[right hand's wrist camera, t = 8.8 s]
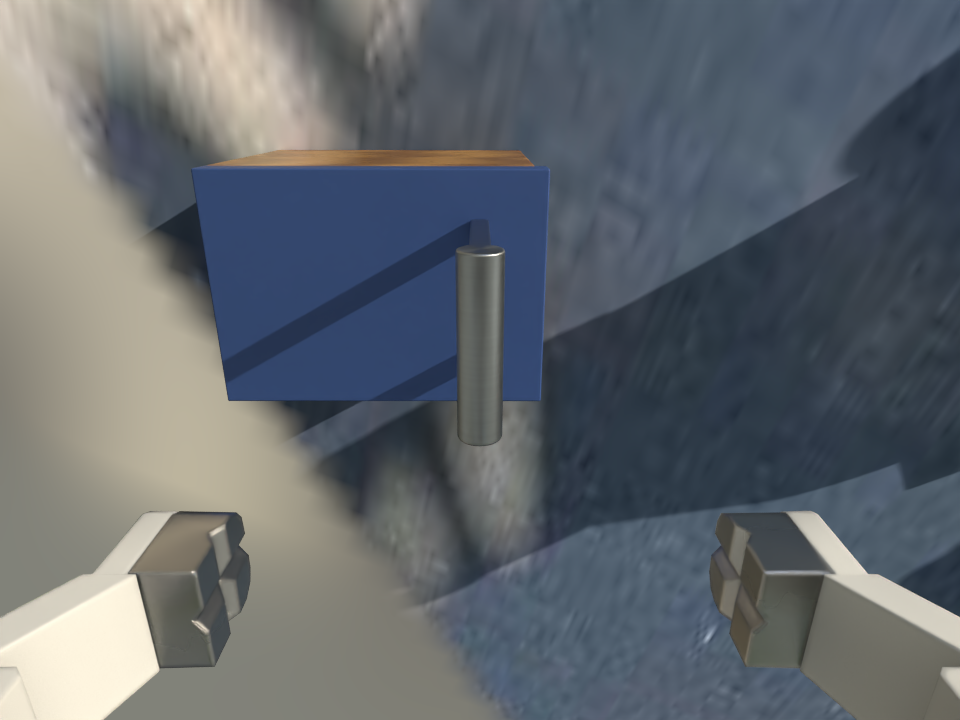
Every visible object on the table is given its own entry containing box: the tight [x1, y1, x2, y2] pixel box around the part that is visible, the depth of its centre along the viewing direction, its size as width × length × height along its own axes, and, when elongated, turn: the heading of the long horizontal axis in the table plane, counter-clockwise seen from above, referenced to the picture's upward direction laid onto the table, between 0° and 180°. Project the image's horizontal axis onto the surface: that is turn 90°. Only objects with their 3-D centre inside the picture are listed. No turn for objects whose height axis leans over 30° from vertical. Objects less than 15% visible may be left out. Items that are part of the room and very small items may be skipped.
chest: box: [207, 150, 534, 166], centre depth 31 cm, size 13×10×10 cm
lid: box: [191, 166, 550, 446], centre depth 23 cm, size 14×10×8 cm
